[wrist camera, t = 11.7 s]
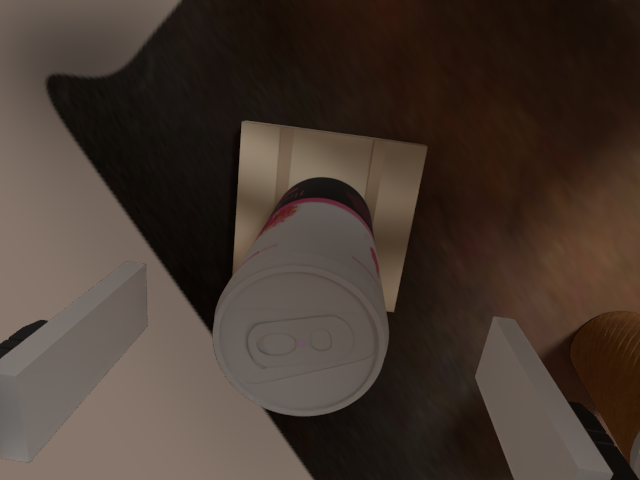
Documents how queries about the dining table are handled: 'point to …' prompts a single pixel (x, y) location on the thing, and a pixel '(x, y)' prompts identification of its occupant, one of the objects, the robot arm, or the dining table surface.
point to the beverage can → (306, 305)
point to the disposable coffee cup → (613, 375)
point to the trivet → (339, 163)
